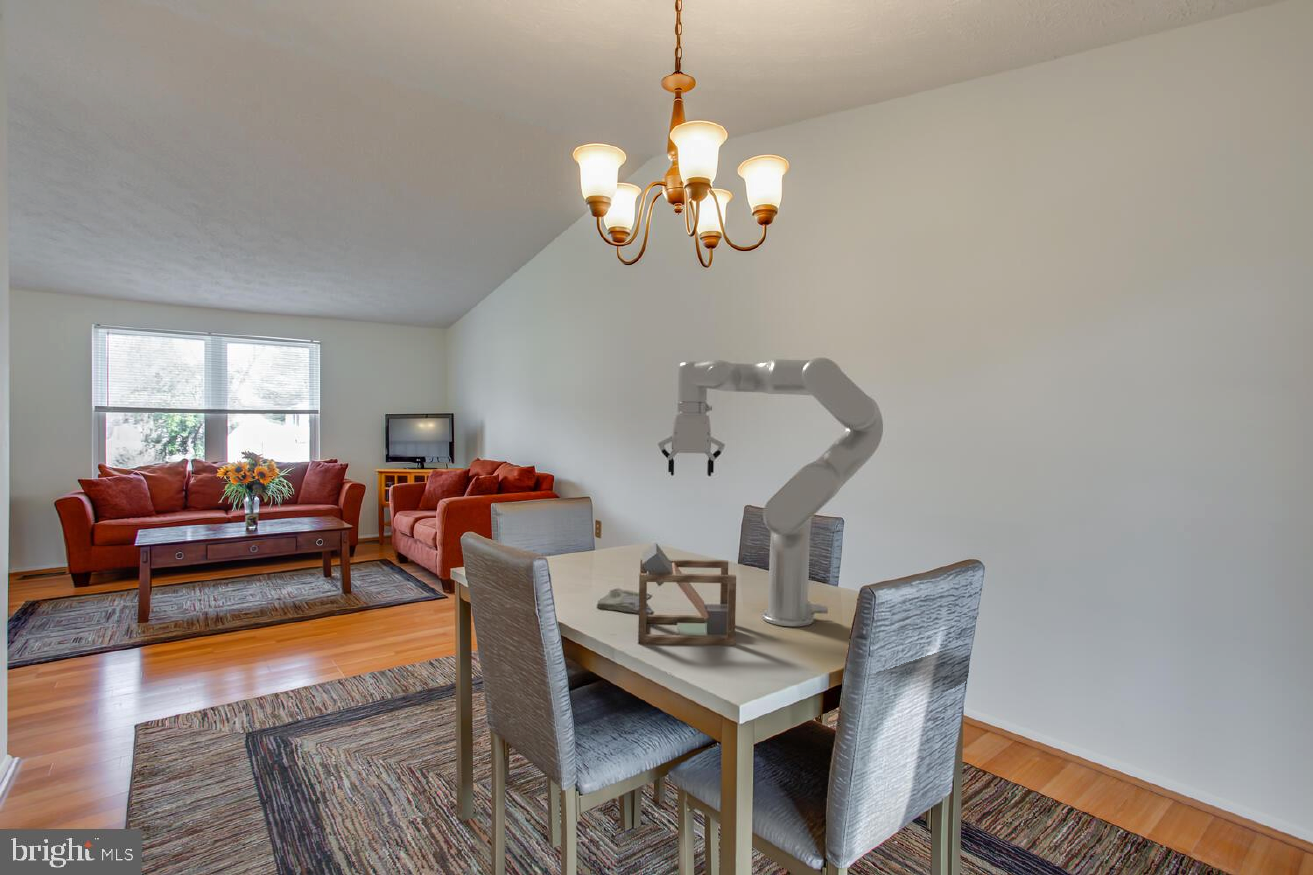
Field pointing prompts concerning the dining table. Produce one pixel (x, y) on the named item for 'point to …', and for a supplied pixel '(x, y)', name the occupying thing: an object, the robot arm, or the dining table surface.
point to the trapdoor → (661, 564)
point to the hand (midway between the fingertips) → (690, 475)
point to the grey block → (716, 619)
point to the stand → (725, 598)
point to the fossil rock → (622, 601)
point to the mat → (692, 629)
